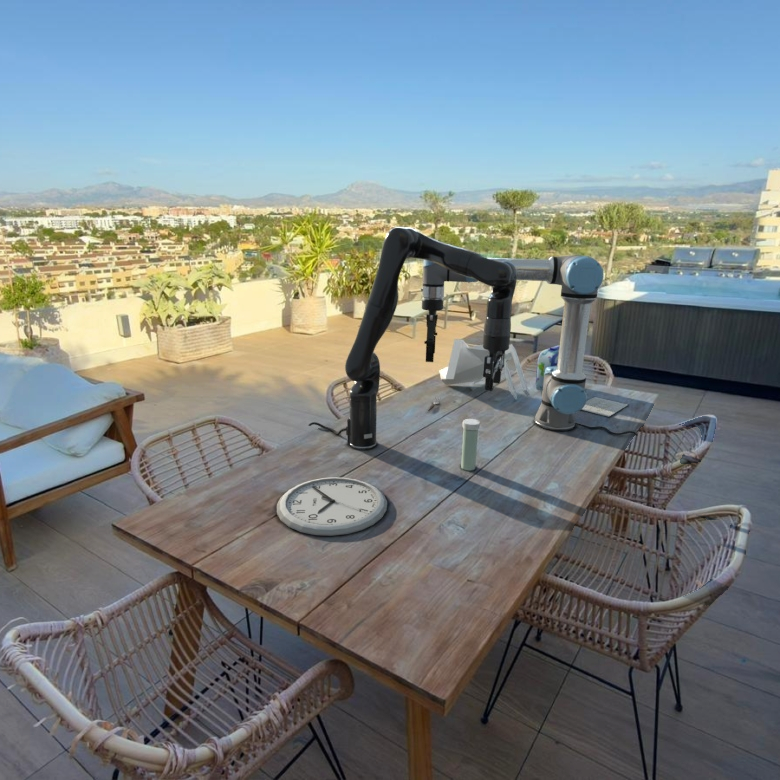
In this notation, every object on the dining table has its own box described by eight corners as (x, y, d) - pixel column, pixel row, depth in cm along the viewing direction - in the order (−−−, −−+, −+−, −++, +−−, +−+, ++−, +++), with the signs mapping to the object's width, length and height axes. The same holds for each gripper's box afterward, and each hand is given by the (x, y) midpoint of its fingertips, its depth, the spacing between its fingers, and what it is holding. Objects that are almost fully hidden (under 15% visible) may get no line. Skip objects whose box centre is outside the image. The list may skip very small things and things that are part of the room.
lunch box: (552, 397, 237) (557, 352, 231) (531, 392, 245) (535, 348, 238) (579, 386, 255) (584, 344, 249) (558, 381, 262) (563, 340, 256)
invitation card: (608, 416, 214) (573, 407, 224) (608, 416, 214) (573, 408, 224) (628, 404, 229) (594, 396, 238) (628, 405, 229) (594, 397, 238)
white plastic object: (461, 429, 252) (437, 405, 227) (444, 352, 274) (420, 323, 250) (535, 404, 240) (518, 377, 215) (510, 326, 262) (492, 293, 237)
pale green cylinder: (476, 465, 168) (479, 421, 164) (474, 471, 164) (477, 426, 160) (462, 463, 169) (464, 419, 165) (460, 469, 165) (462, 424, 161)
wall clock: (392, 527, 129) (268, 531, 127) (391, 533, 130) (269, 537, 127) (383, 473, 158) (282, 475, 155) (383, 478, 158) (282, 480, 156)
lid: (480, 425, 164) (480, 419, 164) (478, 431, 160) (478, 425, 159) (463, 423, 166) (464, 418, 165) (461, 429, 161) (461, 423, 160)
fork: (425, 411, 216) (425, 407, 215) (435, 400, 230) (435, 396, 230) (431, 412, 215) (431, 408, 214) (441, 401, 229) (441, 396, 229)
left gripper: (490, 327, 158) (486, 379, 163) (477, 335, 145) (473, 391, 150) (515, 329, 155) (510, 382, 159) (503, 338, 142) (498, 395, 147)
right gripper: (424, 293, 195) (422, 349, 202) (419, 302, 172) (417, 365, 178) (444, 294, 195) (441, 350, 201) (442, 303, 171) (439, 366, 177)
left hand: (492, 386), depth 155 cm, fingers open, 8 cm apart
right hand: (430, 357), depth 190 cm, fingers open, 13 cm apart
